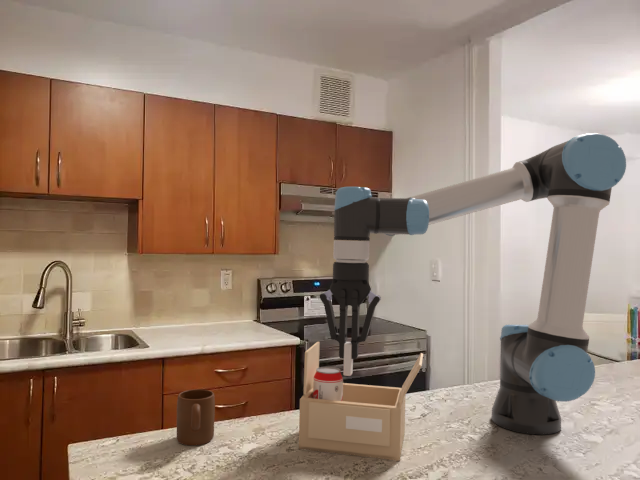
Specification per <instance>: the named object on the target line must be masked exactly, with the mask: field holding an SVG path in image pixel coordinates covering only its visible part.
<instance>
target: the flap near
mask: <svg viewBox="0 0 640 480" xmlns="http://www.w3.org/2000/svg"><path fill="white" fill-rule="evenodd" d="M423 357H424V353H422V352H420V353H419V356H418V357H417V359H416V361H415V362H414V365H413V367H412V369H411V370H410V372H409V373H408V376H407V377H406V379H405V381H404V382H403V384H402V386H401V388H402V389H401V393H400V397H399V401H398V402H399V403H401V402H402V400H403V398H404V396H405V397H406V394H407V392H408V391H409V389H410V388H411V386H412V383H413V382H414V380H415V378H416V377H417V375H418V373H419V371H420V370H421V367H422V366H423V359H424V358H423Z"/></svg>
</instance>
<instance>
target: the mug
mask: <svg viewBox="0 0 640 480" xmlns="http://www.w3.org/2000/svg"><path fill="white" fill-rule="evenodd" d="M215 401H216V400H215V393H214V392H213V391H212V390H209V389H202V388H201V389H199V388H198V389H197V388H196V389H188V390H184V391H181V392H179V393H178V395H177V401H176V440H177V442H178V443H179V444H181V445H184V446H188V447H189V446H191V447H193V446H201V445H206V444H208V443H209V442H211V441H212V440H213V439H214V436H215V435H214V434H215V415H216V413H215V409H216V408H215V406H216V405H215V403H216V402H215Z"/></svg>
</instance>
